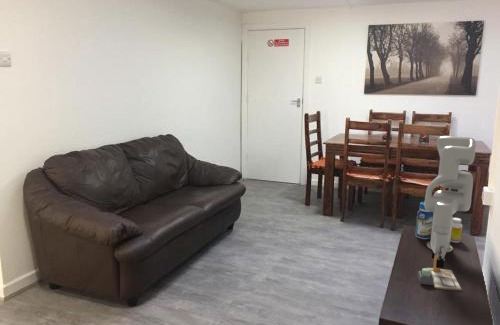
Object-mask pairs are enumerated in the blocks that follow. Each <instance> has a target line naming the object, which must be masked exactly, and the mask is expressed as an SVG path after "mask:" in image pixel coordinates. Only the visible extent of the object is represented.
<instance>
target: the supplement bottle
mask: <svg viewBox="0 0 500 325" xmlns="http://www.w3.org/2000/svg"><path fill="white" fill-rule="evenodd" d="M462 233H463V224H462V218H460V217H453V223H452V231H451V239H450V243H455V244H457V243H461V241H462Z"/></svg>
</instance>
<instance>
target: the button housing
mask: <svg viewBox="0 0 500 325" xmlns="http://www.w3.org/2000/svg"><path fill="white" fill-rule="evenodd" d="M421 274H422V270H418V273H417V280H418V282H419V284H420V285H429V286H434V285H433V281H434V277H433V275H432V272H431V277H426V276H422V275H421Z"/></svg>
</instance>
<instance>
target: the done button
mask: <svg viewBox="0 0 500 325" xmlns="http://www.w3.org/2000/svg"><path fill="white" fill-rule="evenodd" d="M427 268H428V267H426V268H425V267H424V268H422V269H421V271H422V274H421V275H422V276H426V277H431V270H430V269H427Z"/></svg>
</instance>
